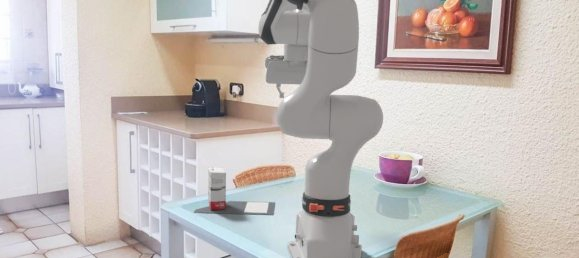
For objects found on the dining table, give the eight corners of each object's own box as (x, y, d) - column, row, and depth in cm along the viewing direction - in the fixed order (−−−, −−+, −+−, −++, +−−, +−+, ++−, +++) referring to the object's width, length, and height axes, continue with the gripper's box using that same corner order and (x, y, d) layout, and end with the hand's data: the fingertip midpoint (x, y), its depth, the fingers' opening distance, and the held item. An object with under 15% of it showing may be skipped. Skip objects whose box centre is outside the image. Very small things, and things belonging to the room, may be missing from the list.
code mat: (273, 215, 139) (273, 214, 139) (193, 212, 139) (193, 212, 139) (274, 202, 152) (274, 202, 152) (202, 200, 152) (202, 200, 152)
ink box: (226, 209, 142) (226, 172, 141) (210, 210, 141) (210, 172, 139) (223, 201, 150) (223, 166, 149) (207, 202, 149) (208, 166, 148)
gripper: (264, 54, 147) (263, 98, 149) (328, 56, 147) (327, 99, 149) (265, 55, 154) (265, 96, 155) (327, 57, 153) (325, 98, 155)
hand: (296, 98), depth 152 cm, fingers open, 8 cm apart
